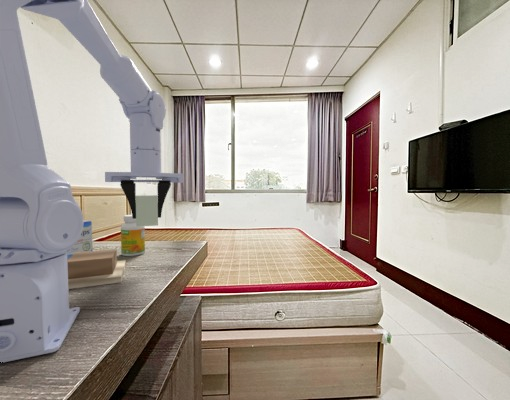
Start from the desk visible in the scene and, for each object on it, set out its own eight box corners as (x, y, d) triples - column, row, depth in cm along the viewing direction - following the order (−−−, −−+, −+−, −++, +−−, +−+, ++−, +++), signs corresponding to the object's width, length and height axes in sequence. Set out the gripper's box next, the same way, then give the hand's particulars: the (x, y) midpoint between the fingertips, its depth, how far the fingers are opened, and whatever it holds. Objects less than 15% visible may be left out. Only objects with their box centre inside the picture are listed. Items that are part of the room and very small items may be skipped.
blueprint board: (121, 282, 44) (120, 259, 44) (50, 291, 40) (49, 266, 40) (126, 264, 54) (125, 246, 54) (69, 270, 50) (69, 250, 50)
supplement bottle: (117, 256, 60) (116, 216, 60) (126, 251, 66) (125, 214, 65) (140, 256, 61) (139, 216, 61) (148, 250, 66) (147, 214, 66)
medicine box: (62, 265, 54) (61, 225, 54) (46, 264, 55) (44, 224, 54) (93, 255, 62) (92, 220, 61) (78, 254, 63) (76, 220, 62)
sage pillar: (158, 225, 51) (157, 195, 51) (136, 226, 50) (135, 196, 49) (157, 222, 55) (156, 195, 55) (137, 223, 53) (136, 195, 53)
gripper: (180, 155, 58) (181, 214, 59) (108, 152, 52) (109, 217, 53) (184, 151, 52) (185, 217, 52) (102, 146, 46) (104, 221, 47)
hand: (147, 217), depth 52 cm, fingers closed on sage pillar, 4 cm apart
